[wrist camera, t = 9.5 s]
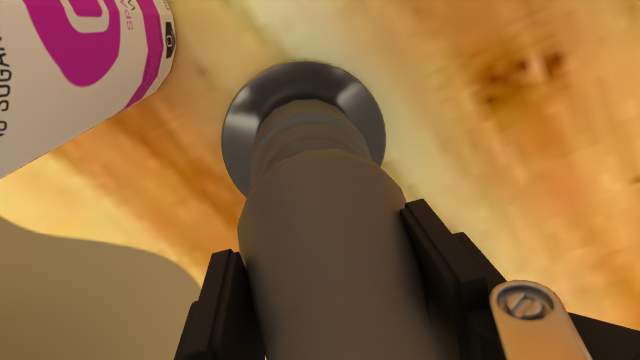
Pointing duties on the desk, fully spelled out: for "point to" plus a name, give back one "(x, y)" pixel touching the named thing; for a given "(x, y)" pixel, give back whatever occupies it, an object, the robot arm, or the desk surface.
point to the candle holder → (330, 245)
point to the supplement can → (75, 68)
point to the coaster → (288, 86)
